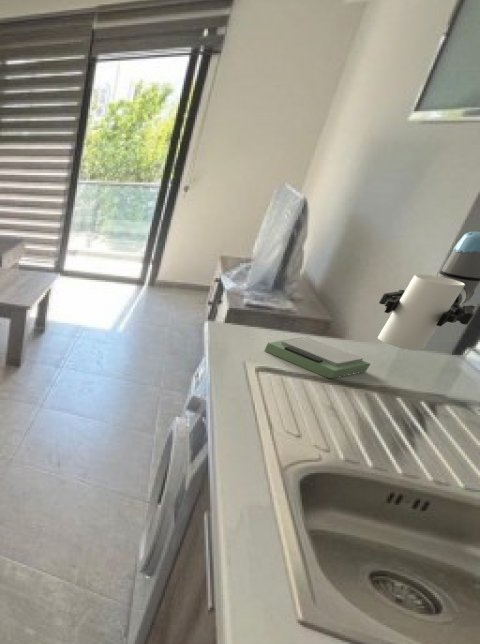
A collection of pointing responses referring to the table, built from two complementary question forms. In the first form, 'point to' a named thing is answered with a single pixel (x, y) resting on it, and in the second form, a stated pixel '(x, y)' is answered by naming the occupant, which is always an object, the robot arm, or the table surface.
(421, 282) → the cup
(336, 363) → the scale
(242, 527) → the table surface
